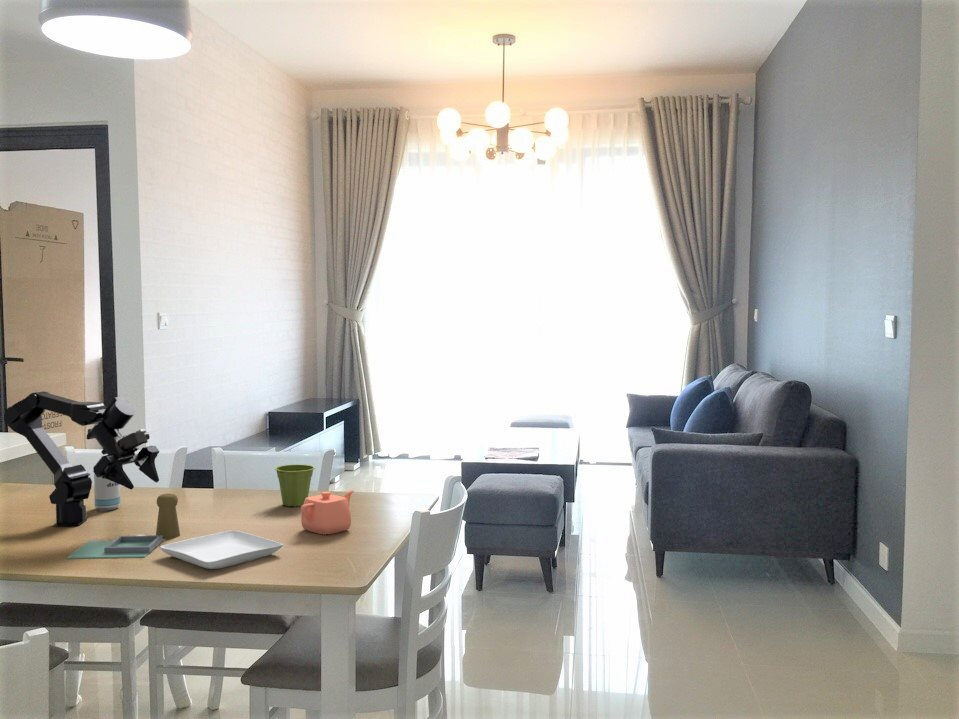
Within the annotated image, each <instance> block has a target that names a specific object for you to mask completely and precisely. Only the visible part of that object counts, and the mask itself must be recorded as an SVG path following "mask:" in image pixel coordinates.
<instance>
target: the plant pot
mask: <svg viewBox="0 0 959 719" xmlns="http://www.w3.org/2000/svg"><path fill="white" fill-rule="evenodd" d="M315 469H316V467H315V466H313V465H311V464H285V465H278V466H276V467H274V470H275V471H276V474H277V479H278V484H279V488H280V489H279V490H280V496H281V501H282V505H283V506H284V505H285V506H287V507H290V506H294V507H296V506H298V507H301V506H302V505H304V501H305V498H307V497H309V495H310V488H311V482H312V477H313V474H314V473H313V472H314V470H315Z"/></svg>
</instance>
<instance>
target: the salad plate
mask: <svg viewBox="0 0 959 719" xmlns="http://www.w3.org/2000/svg"><path fill="white" fill-rule="evenodd" d="M283 546H284V543H281V542H280V541H279V542H278V541H275V540H272V539H269V538H266V537H263V536H259V535H256V534H252V533H248V532H245V531H241V530H236V529H230V530H225V531H221V532H215V533H211V534H207V535H202V536H201V535H200V536H196V537H192V538H188V539H187V538H186V539H183V540H180V541H176V542H171V543H166V544H163V545H160V546H159V548H160V550H161V551H162V552H163V553H165V554H166V555H169V556H171V557H173V558H176V559H179V560H181V561H184V562H186V563H189V564H192V565H194V566H198V567H201V568H204V569H207V570H208V569H209V570H219V569H223V568H228V567H232V566H236V565H240V564H242V563H246V562H247V563H248V562H251V561H255V560H257V559H258V560H259V559H260V558H264V557H267V556H270V555H272V554H275V553H276V552H278V551H279V550H281V549H282V547H283Z"/></svg>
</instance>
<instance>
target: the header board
mask: <svg viewBox="0 0 959 719" xmlns="http://www.w3.org/2000/svg"><path fill="white" fill-rule="evenodd" d="M163 540H164V539H163V535H156V534H155V535H153V534H151V535H149V534H136V535H119V536H118V537H117V538H115V539H114V540H88V541H87V542H86V543H85V544H83V545H82V546H80V547H79V548H78V549H76V550H74V551H73V552H72V553H71V554H70V555H68V556H67V557H66V559H117V558H121V559H122V558H123V559H125V558H127V559H128V558H129V559H130V558H135V559H137V558H146V557H147V556H148V555H149V554H150V553H151V552H153V551H154V549H156V547H158V546H159V545H160V544H161V543H162V542H163Z"/></svg>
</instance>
